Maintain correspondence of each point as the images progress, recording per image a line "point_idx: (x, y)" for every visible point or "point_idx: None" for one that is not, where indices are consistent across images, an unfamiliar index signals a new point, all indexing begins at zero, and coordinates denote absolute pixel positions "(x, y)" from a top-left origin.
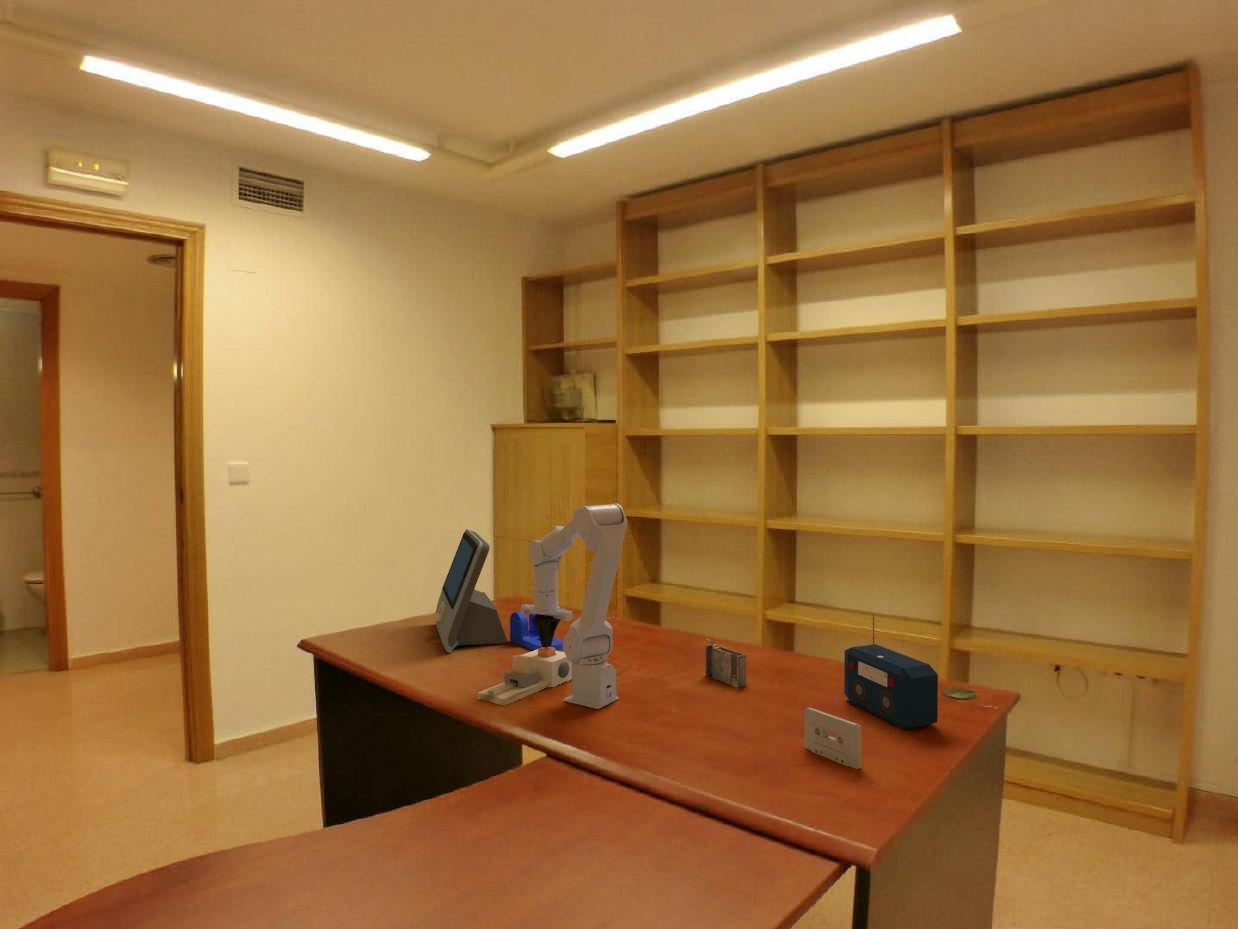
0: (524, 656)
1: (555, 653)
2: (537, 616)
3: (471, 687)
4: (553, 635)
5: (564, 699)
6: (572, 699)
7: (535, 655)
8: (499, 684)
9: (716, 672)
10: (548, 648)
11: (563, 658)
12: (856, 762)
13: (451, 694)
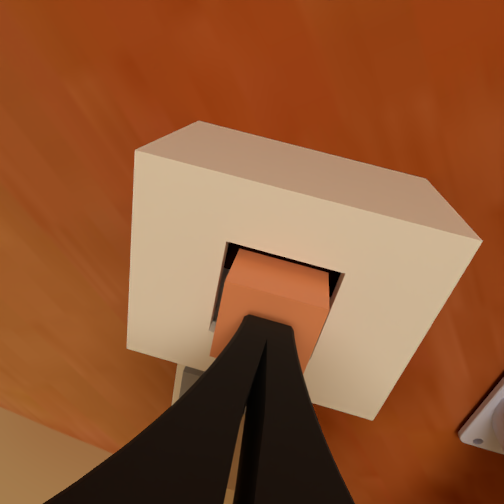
0: (229, 492)
1: (328, 285)
2: None
3: (81, 366)
4: (308, 400)
5: (463, 442)
6: (497, 441)
7: (210, 333)
8: (176, 399)
9: None
10: None
11: (419, 338)
12: None
13: (81, 418)
